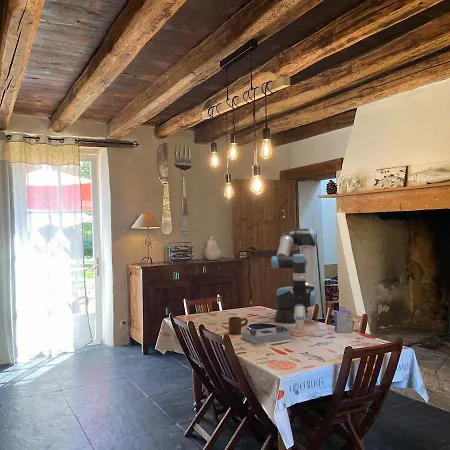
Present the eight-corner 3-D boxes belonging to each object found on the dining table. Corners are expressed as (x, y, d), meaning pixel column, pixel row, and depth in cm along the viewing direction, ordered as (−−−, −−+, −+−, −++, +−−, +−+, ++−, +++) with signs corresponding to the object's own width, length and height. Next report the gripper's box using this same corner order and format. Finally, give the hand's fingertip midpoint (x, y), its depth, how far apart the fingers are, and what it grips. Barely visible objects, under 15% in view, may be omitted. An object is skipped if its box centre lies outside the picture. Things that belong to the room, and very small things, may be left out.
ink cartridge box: (349, 330, 279) (348, 306, 279) (352, 332, 273) (352, 308, 273) (333, 330, 277) (333, 307, 277) (337, 332, 272) (336, 308, 272)
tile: (285, 333, 272) (285, 332, 272) (301, 330, 278) (301, 329, 278) (298, 337, 261) (297, 336, 261) (314, 334, 267) (314, 333, 267)
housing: (242, 338, 259) (242, 331, 259) (276, 333, 270) (276, 327, 270) (255, 344, 246) (255, 336, 246) (290, 338, 258) (290, 331, 258)
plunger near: (248, 338, 255) (248, 329, 255) (254, 337, 257) (254, 328, 257) (251, 339, 251) (251, 330, 251) (257, 339, 253) (257, 329, 253)
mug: (246, 331, 278) (246, 316, 278) (249, 334, 270) (249, 318, 270) (227, 332, 275) (227, 317, 275) (230, 335, 267) (230, 319, 267)
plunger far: (274, 334, 263) (274, 325, 263) (280, 333, 265) (280, 325, 265) (278, 336, 260) (278, 327, 260) (284, 335, 262) (284, 326, 262)
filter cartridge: (296, 330, 267) (295, 304, 267) (295, 328, 272) (294, 303, 272) (304, 330, 267) (304, 304, 267) (303, 328, 272) (303, 303, 272)
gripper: (284, 280, 266) (285, 319, 266) (315, 280, 266) (315, 319, 265) (283, 279, 274) (283, 317, 274) (313, 279, 273) (313, 317, 273)
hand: (299, 318), depth 270 cm, fingers closed on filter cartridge, 5 cm apart
